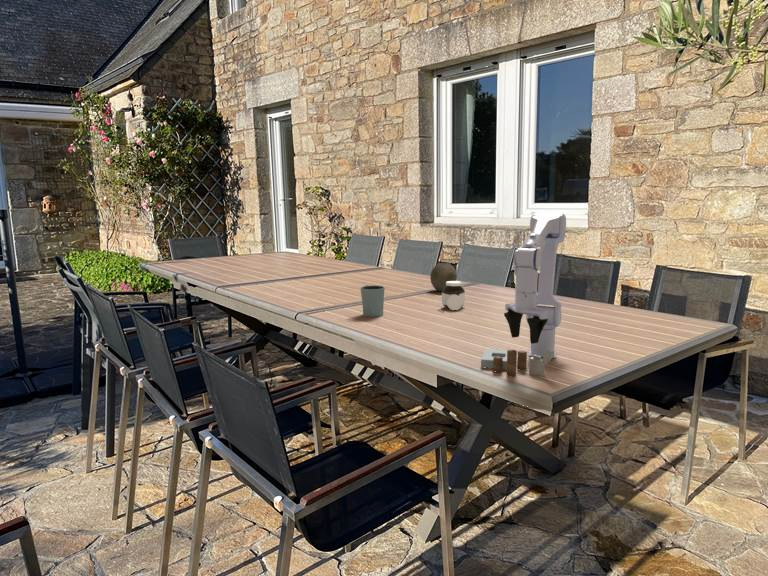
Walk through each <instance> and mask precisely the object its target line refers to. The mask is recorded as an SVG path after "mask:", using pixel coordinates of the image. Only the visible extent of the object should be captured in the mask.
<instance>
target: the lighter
mask: <svg viewBox="0 0 768 576" xmlns="http://www.w3.org/2000/svg"><path fill="white" fill-rule="evenodd" d="M554 352H555V351H554V350H553V349H548V350H547V352H546V354H545V356H544V357H541V356H539V355H533V357H529V359H528V362H529V363H528V373H529V374H532V375H535V376H539V377H542V376H545V372H546V371H545V367H546V365H547V364H549V363H550V361H551V360H552V359H553V358H552V356H553V354H554Z"/></svg>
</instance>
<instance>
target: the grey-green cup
mask: <svg viewBox="0 0 768 576" xmlns="http://www.w3.org/2000/svg"><path fill="white" fill-rule="evenodd" d="M385 289H386V287H385V286H383V285H376V284H375V285H373V284H372V285H364V286H361V287H360V295H361V303H362V304H361V305H362V314H363V316H364V317H366V316H369V317H368V318H377V317H376V316H379V317H383V316H384V307H385V306H384V304H385Z"/></svg>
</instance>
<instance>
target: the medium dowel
mask: <svg viewBox="0 0 768 576" xmlns="http://www.w3.org/2000/svg"><path fill="white" fill-rule="evenodd" d="M527 358H528V351H525V350H518V351H517V363H516V370H518V369H520V370H519V371H526V370H527V364H528V363H527V362H528V359H527Z"/></svg>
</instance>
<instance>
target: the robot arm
mask: <svg viewBox="0 0 768 576" xmlns="http://www.w3.org/2000/svg"><path fill="white" fill-rule="evenodd" d="M529 228H530V232H531V233H530V234H529V235H527V236H526V237H525V239H524V241H523V243H522V245H521V247H518V248H517V249H515V250H514V253H513V268H514V272H513V273H514V276H515V290H514V291H515V292H514V293H515V296H514V297H515V299H514V303H512V302H508V303H505V306H504V307H505V311H507V312H504V313H503V316H504V317H505V320H506V322H507V324H508V328H509V331H510V335H511V338H519V337H520V332H521V323H522V318H523V315H525V316H526V318H525V319H526V320H525V321H526V323H527V324H528V327H529V340H530V347H529V352H528V357H529V358H531V357H533V355H539V356H541V358H544V356H545V354H546V352H547V350H548V349H553V350H554V351H555V352H554V354H553V356H552V358H551V359H556V357H557V356H556V355H557V354H556V349H555V347H556V346H555V345H556V328H558V327H559V326H561V325H560V324H561V323H562V304H561V302H560V300H558V299H557V298H556V297H555V296H554V288H555V287H554V286H555V275H556V263H557V254H558V253H557V252H558V248H559V244H561V243H562V242H564V241H565V238H566V230H567V229H566V228H567V217H566V215H565V213H535V212H534V213H532V215H531V217H530V220H529ZM538 271H539V272H538ZM538 273H539V275H538Z"/></svg>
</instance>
